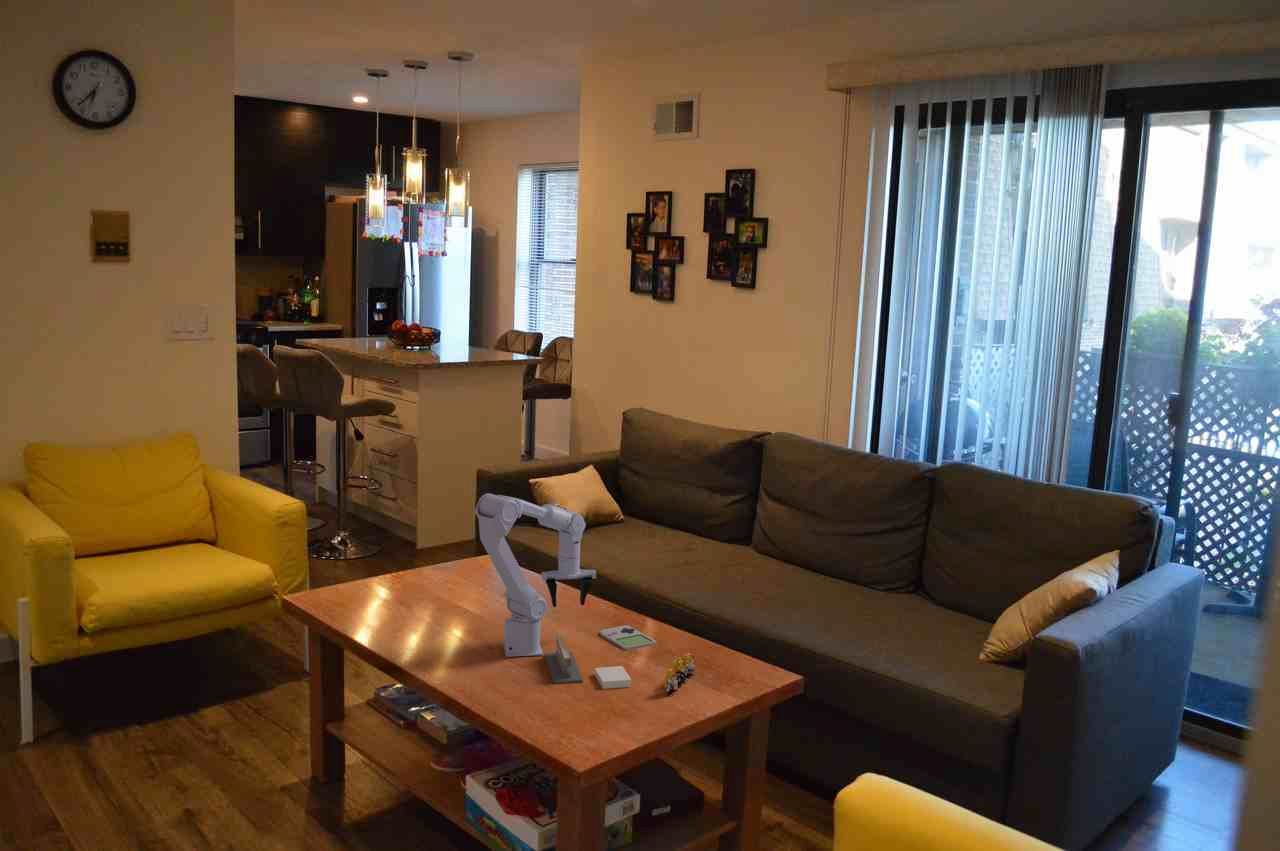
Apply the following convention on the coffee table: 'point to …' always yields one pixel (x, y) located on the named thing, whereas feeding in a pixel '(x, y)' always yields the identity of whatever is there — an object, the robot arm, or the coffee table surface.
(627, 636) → the handheld gaming console
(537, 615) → the robot arm
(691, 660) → the figurine set
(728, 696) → the coffee table surface
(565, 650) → the beige bar
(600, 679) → the tile
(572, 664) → the rubber mat
